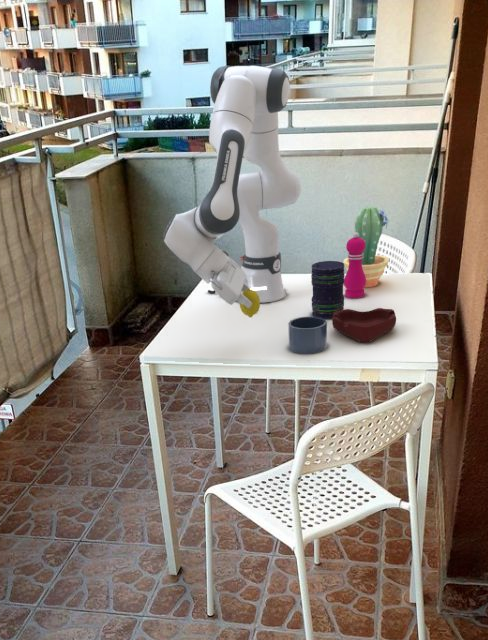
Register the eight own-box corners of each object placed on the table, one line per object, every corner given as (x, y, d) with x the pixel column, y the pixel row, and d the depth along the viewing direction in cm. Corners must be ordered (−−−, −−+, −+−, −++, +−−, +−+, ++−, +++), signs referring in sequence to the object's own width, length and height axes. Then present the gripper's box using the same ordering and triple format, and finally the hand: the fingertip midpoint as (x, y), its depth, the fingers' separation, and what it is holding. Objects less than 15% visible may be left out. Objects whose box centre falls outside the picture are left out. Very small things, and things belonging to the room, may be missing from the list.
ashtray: (332, 345, 191) (332, 328, 188) (332, 325, 205) (332, 309, 202) (398, 343, 188) (399, 326, 186) (394, 323, 202) (394, 307, 199)
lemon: (258, 320, 188) (257, 291, 184) (239, 320, 190) (237, 291, 185) (262, 314, 193) (260, 285, 189) (242, 314, 194) (240, 285, 190)
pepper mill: (369, 293, 229) (371, 230, 218) (360, 299, 224) (362, 235, 213) (348, 291, 232) (350, 229, 222) (339, 297, 227) (340, 234, 217)
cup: (281, 349, 191) (281, 325, 188) (303, 338, 198) (303, 314, 194) (312, 356, 185) (311, 331, 182) (333, 344, 191) (333, 320, 188)
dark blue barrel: (343, 308, 217) (344, 260, 210) (344, 318, 209) (345, 268, 201) (311, 309, 219) (311, 261, 211) (311, 319, 210) (310, 270, 203)
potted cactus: (379, 291, 229) (383, 212, 216) (335, 288, 236) (336, 211, 223) (394, 279, 240) (398, 202, 227) (351, 276, 247) (353, 201, 234)
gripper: (216, 268, 175) (256, 305, 179) (226, 248, 192) (262, 282, 196) (200, 287, 178) (240, 322, 182) (211, 265, 195) (248, 298, 199)
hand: (252, 301), depth 189 cm, fingers closed on lemon, 5 cm apart
